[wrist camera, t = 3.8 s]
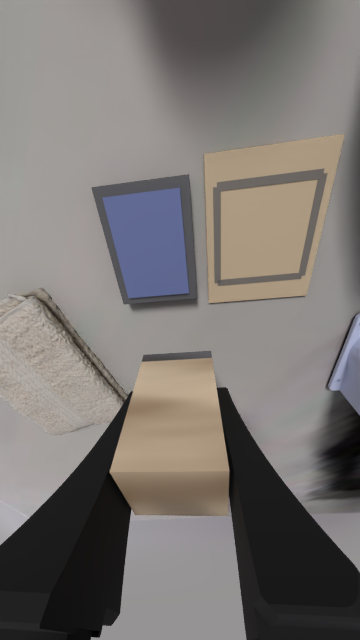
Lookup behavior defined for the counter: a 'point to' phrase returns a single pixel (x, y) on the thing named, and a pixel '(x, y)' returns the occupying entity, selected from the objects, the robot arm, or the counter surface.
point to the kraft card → (267, 216)
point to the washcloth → (52, 368)
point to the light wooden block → (174, 439)
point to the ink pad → (150, 238)
